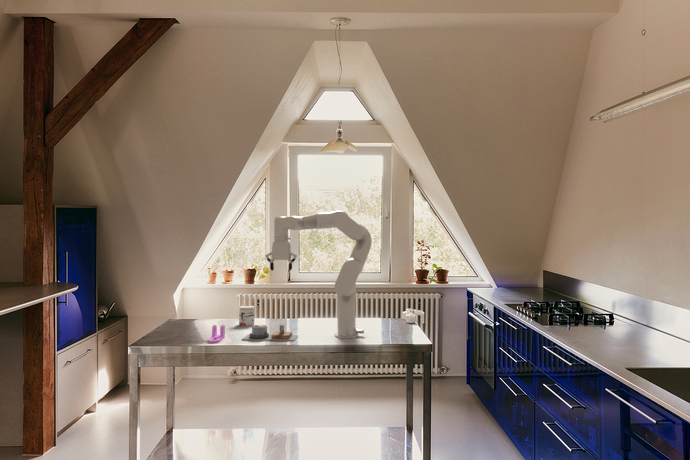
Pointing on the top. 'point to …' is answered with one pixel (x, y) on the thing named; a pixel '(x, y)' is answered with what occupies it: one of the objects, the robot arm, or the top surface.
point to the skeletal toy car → (412, 315)
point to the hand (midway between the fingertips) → (281, 270)
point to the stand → (281, 334)
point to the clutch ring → (259, 330)
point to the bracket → (215, 337)
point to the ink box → (246, 316)
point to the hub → (258, 336)
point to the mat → (271, 339)
